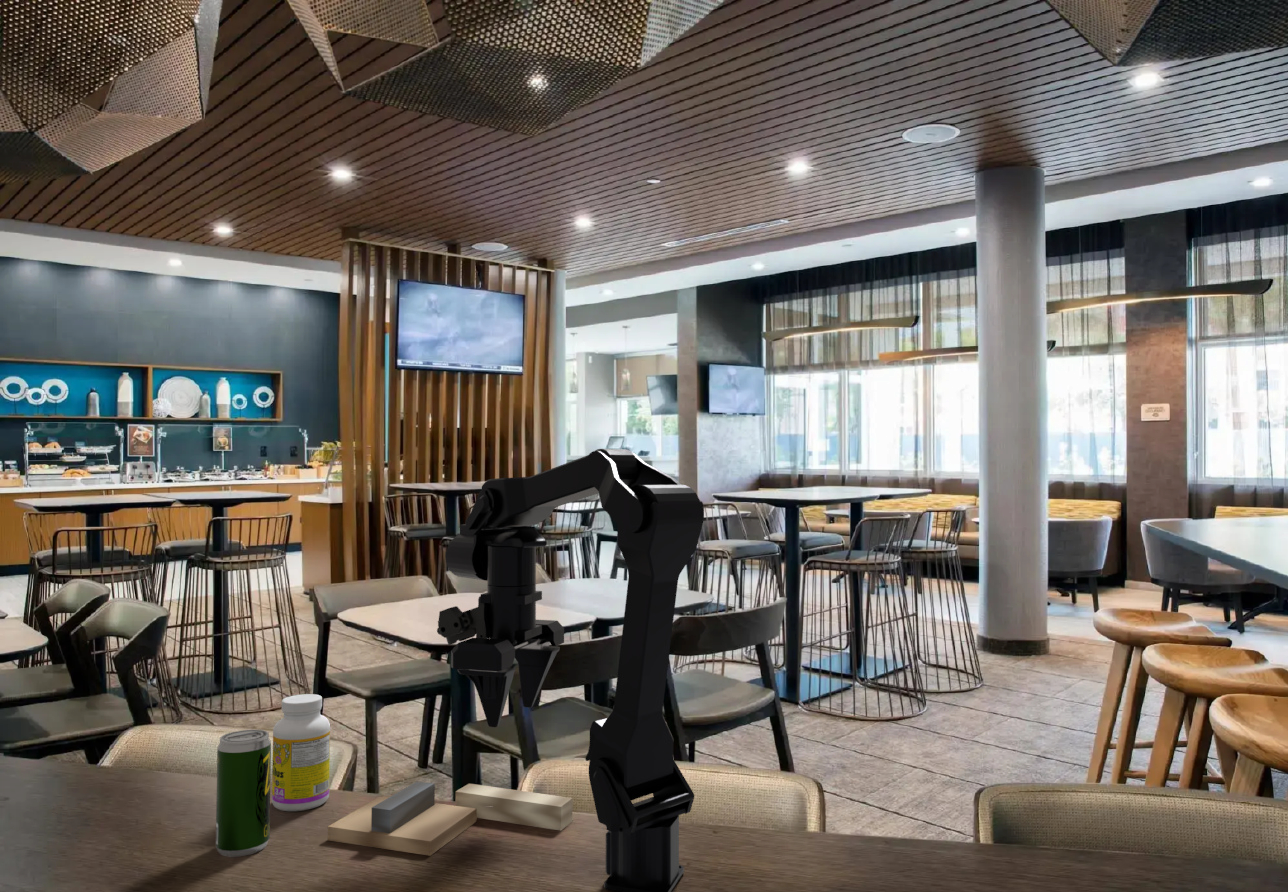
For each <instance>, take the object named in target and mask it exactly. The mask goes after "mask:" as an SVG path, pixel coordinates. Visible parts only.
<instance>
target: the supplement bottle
mask: <svg viewBox="0 0 1288 892" xmlns="http://www.w3.org/2000/svg"><path fill="white" fill-rule="evenodd" d="M322 707H323V697H322V696H321V695H319V694H315V693H310V694H309V693H305V694H302V693H301V694H295V695H290V696H287V697H284V698H283V699H282V700H281V711H282V714H283V718H281V719H279V720H278V721H277V722H276V723H274V724H275V725H274V726H273V729H272V765H271V766H272V767H271V768H272V769H271V771H272V772H271V773H272V774H271V776H272V778H271V787H272V788H271V803H272V806H273V807H274V808H276V809H277V810H279V811H285V812H300V811H301V812H302V811H308V810H311V809H314V808H318V807H321V805H324V804H325V803H326V801H328V799H329V797H330V773H331V772H330V770H331V769H330V764H331V761H330V760H331V759H330V758H331V757H330V756H331V755H330V754H331V753H330V751H331V750H330V748H331V746H330V745H331V744H330V743H331V724H330V720H329V719H328V718H327V717H326V716H325V715H322V714H321V710H322Z"/></svg>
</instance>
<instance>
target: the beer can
mask: <svg viewBox="0 0 1288 892" xmlns="http://www.w3.org/2000/svg"><path fill="white" fill-rule="evenodd" d="M269 733H270V732H269V731H267V730H263V729H244V730H243V729H242V730H238V731H236V730H235V731H232V732H228V733H226V734H223V735H221V736H220V737H219V743H218V746H217V748H216V749H217V752H216V753H217V754H216V756H217V759H216V805H215V806H216V809H215V810H216V813H215V817H216V818H215V848H216V850H217V852H218V853H219V855H221V856H224V857H228V858H229V857H230V858H231V857H232V858H234V857H235V858H236V857H244V856H249V855H252V854H253V855H254V854H256V853H258V852H260V851H262V850H264V849H265V848H266V847H267V845H268V842H269V840H270V838H271V837H270V835H271V833H270V832H271V831H270V830H271V829H270V828H271V827H270V826H271V819H270V818H271V771H272V769H271V768H272V767H271V766H272V765H271V763H272V761H271V760H272V759H271V758H272V751H271V750H272V742H271V740H270V738H269V737H270V734H269Z"/></svg>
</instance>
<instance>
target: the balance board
mask: <svg viewBox="0 0 1288 892" xmlns="http://www.w3.org/2000/svg"><path fill="white" fill-rule="evenodd" d="M435 784H436V783H433V782H427V781H418V780H417V781H415V782H413V783H411V784H410V785H408V786H406V787H405V788H403V789H401V790H399V791H398V792H396V793H394V794H393V795H391V796H383V795H382V796H383V797H380V796H379V797H377V798H375V799H373V800H372V801H370V802H368V803H367V804H364V805H363V806H361V807H359V808H358V809H355V810H354V811H353V812H351V813H349V814H347V815H345V816H343V817H342V818H341V819H339V820H336V821H335V822H333V823H332V824H329V825H328V826H327V841H331V842H337V843H343V844H349V845H357V846H363V847H370V848H377V849H383V850H391V851H396V852H404V853H411V854H416V855H417V854H418V855H424V856H432V855H434V854H435V853H436V852H437V851H438V850H440V849H441V848H443V847H444V846H445V845H447V844H449V842H451V841H452V840H453V839H455V838H456V837H458V836H459V835H460V834H461V833H463V832H465V831H466V830H467V829H469V828H470V827H472V826H473V825H474V824H475V823H476V822H477V819H478V818H477V808H469V807H461V806H455V805H453V804H444V803H437V802H436V799H435V797H436V796H435V794H436V793H435V792H436V791H435V787H436V786H435Z"/></svg>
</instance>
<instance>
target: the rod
mask: <svg viewBox="0 0 1288 892" xmlns="http://www.w3.org/2000/svg"><path fill="white" fill-rule="evenodd" d="M454 799H455V800H454V801H455V803H457V804H455V803H454V804H455V805H454V806H461V807H469V808H477V819H484V820H489V821H490V820H491V821H498V822H502V823H503V822H504V823H509V824H515V825H516V824H517V825H522V826H530V827H535V828H542V829H547V830H548V829H549V830H554V831H561V832H562V830H564V829H565V828H566V827H567V826H569V825H570V824H571V823H572V822H573V803H574V802H573V801H574V800H573V797H570V796H569V797H568V796H560V795H554V794H547V793H539V792H532V791H524V790H519V789H510V788H505V787H498V786H497V787H496V786H490V785H484V784H483V785H482V784H475V783H467V784H466V785H464V786H463V787H461V788H458V789H457V790H456V791H455V798H454ZM485 806H493V807H485Z"/></svg>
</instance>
